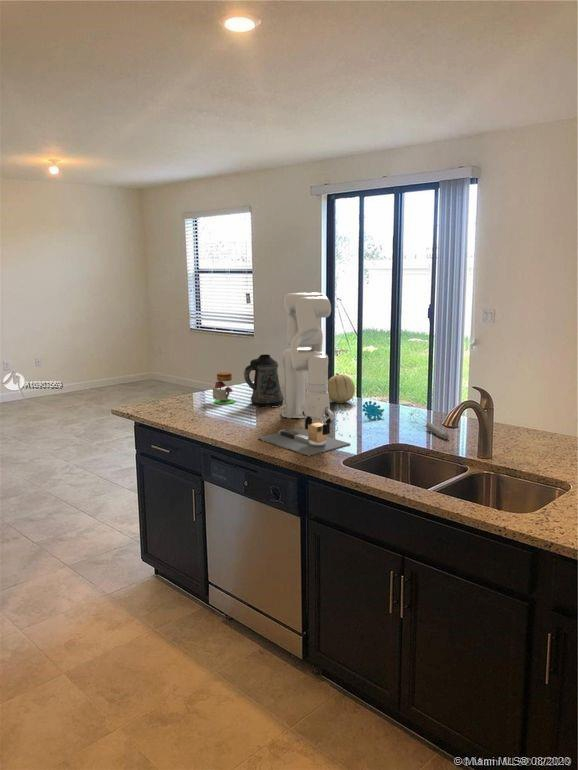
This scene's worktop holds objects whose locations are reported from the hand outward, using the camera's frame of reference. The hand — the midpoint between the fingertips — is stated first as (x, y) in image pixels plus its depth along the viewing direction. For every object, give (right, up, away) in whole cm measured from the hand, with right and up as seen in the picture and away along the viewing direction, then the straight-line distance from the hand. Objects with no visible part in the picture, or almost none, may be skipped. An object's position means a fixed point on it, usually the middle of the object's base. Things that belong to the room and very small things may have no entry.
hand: (317, 431), depth 228 cm
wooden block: (0, -3, 0) cm, 3 cm away
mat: (-5, -5, +7) cm, 10 cm away
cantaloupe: (+15, +8, +75) cm, 77 cm away
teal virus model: (+28, +2, +44) cm, 52 cm away
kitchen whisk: (+48, -2, +24) cm, 54 cm away
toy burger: (-44, +9, +78) cm, 90 cm away
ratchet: (-6, -4, +7) cm, 10 cm away
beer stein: (-23, +8, +71) cm, 75 cm away
